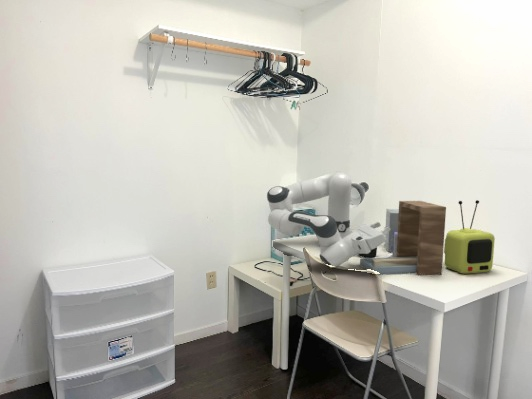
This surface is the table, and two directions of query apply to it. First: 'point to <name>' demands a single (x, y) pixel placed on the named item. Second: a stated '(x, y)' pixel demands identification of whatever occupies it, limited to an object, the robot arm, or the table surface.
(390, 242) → the hard drive box
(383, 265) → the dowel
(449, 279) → the table surface
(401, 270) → the tray
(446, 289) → the table surface
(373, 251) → the pen holder
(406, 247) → the shelf
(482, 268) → the television
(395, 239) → the ink cartridge box
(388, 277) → the table surface
